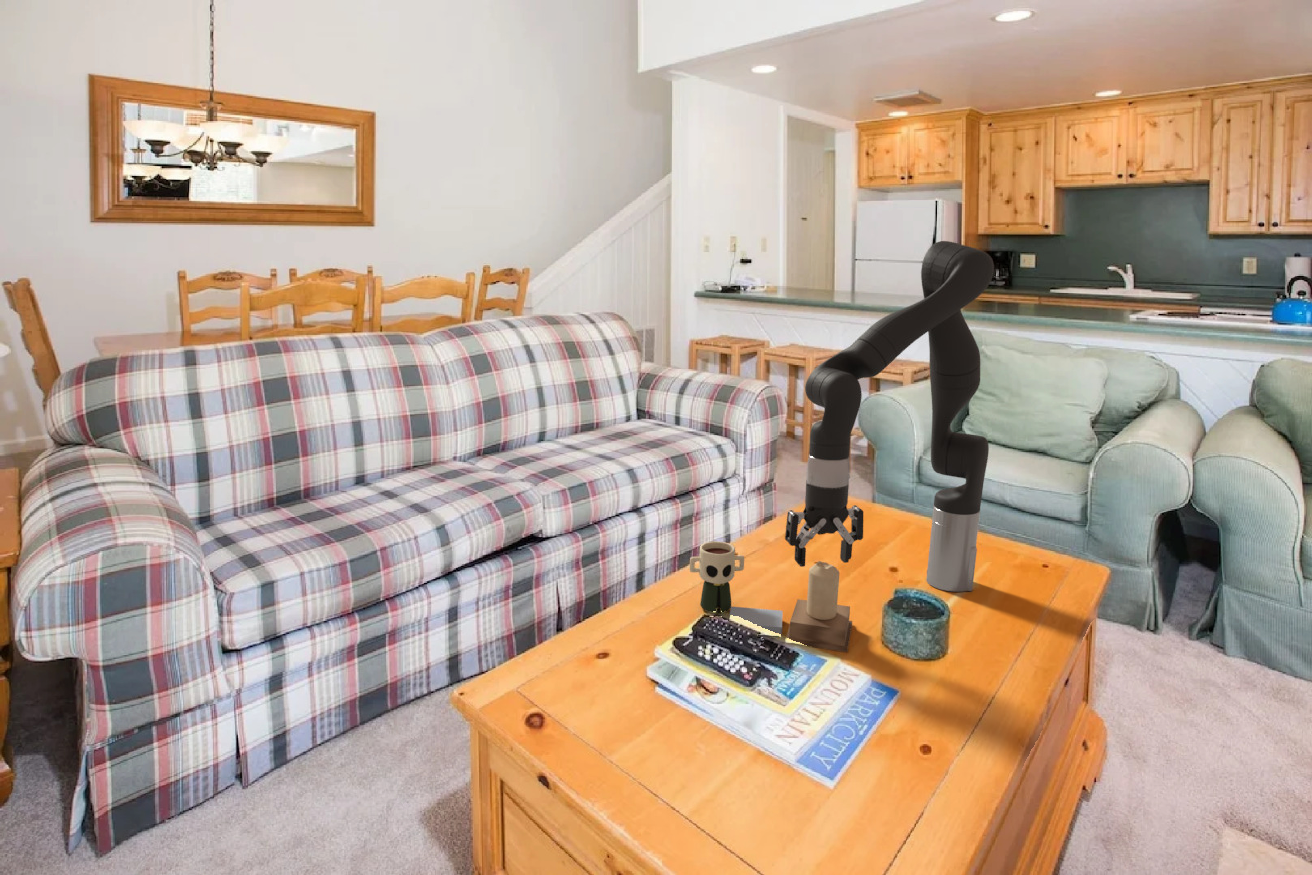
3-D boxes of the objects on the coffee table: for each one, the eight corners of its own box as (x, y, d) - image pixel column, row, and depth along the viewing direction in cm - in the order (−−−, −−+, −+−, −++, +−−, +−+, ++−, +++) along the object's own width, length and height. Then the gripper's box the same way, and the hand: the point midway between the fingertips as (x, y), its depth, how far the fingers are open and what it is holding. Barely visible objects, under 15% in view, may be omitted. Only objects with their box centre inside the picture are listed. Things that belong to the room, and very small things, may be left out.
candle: (841, 612, 151) (845, 563, 149) (827, 623, 147) (831, 572, 145) (815, 604, 155) (818, 555, 152) (800, 614, 150) (804, 564, 148)
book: (782, 620, 157) (782, 610, 156) (781, 637, 150) (781, 627, 150) (730, 615, 158) (731, 606, 158) (727, 632, 152) (728, 622, 151)
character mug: (691, 617, 157) (692, 555, 154) (686, 601, 164) (687, 541, 161) (746, 615, 159) (748, 553, 155) (738, 599, 165) (741, 540, 162)
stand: (852, 624, 155) (853, 605, 154) (847, 652, 145) (848, 632, 144) (793, 616, 158) (794, 597, 157) (785, 642, 148) (786, 622, 147)
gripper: (855, 471, 149) (849, 552, 154) (782, 475, 147) (778, 558, 151) (873, 483, 142) (867, 568, 146) (797, 488, 139) (793, 574, 144)
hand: (822, 563), depth 149 cm, fingers open, 8 cm apart
